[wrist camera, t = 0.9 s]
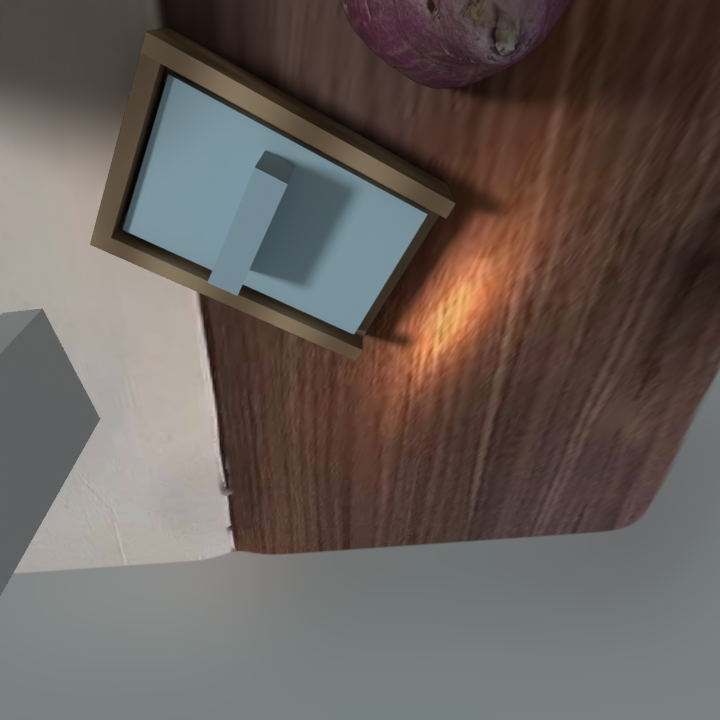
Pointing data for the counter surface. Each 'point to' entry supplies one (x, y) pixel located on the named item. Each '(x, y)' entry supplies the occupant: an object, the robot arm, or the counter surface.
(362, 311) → the lid
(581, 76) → the counter surface
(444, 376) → the counter surface
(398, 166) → the pencil box
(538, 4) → the vegetable
